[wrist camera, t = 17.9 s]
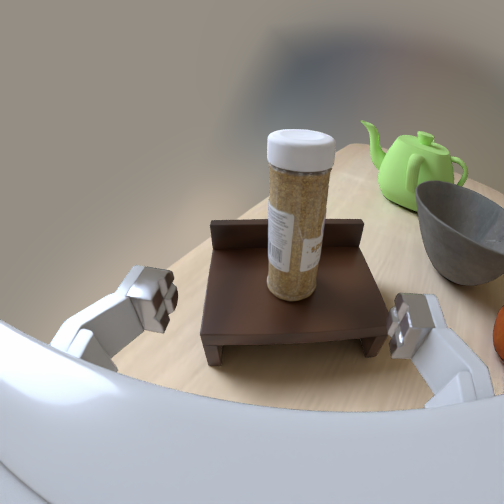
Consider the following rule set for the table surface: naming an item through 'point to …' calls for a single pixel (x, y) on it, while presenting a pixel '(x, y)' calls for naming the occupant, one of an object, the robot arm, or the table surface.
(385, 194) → the teapot
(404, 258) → the table surface
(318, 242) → the sprinkles bottle
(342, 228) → the shelf
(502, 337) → the fruit
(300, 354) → the table surface
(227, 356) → the table surface
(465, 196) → the bowl
